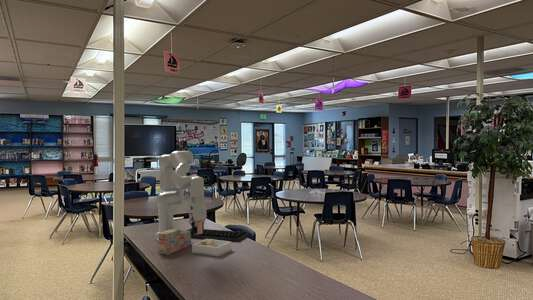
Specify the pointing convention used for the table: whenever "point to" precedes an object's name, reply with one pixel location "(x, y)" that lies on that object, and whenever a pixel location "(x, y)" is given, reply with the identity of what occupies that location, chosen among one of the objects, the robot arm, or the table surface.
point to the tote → (212, 248)
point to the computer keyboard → (219, 235)
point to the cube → (206, 242)
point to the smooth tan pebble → (199, 227)
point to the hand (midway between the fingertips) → (197, 232)
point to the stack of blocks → (173, 240)
